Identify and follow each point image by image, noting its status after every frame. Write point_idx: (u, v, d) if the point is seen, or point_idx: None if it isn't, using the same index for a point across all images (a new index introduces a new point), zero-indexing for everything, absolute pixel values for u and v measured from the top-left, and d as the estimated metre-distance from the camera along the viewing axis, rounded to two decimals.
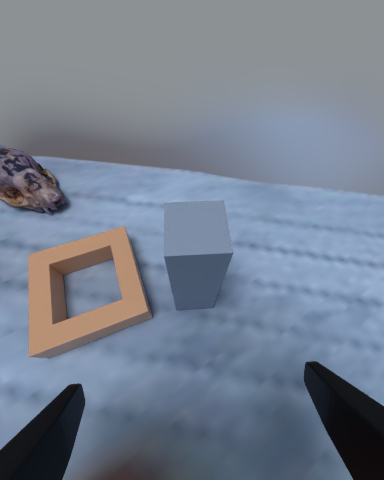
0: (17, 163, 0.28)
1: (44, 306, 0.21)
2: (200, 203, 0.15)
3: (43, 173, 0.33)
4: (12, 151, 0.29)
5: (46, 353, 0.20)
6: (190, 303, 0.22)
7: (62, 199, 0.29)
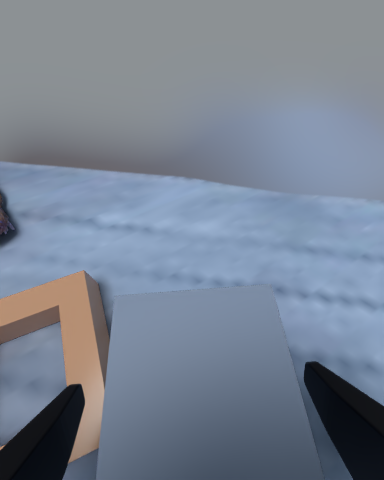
0: None
1: None
2: (210, 295, 0.05)
3: None
4: None
5: None
6: None
7: (3, 227, 0.20)
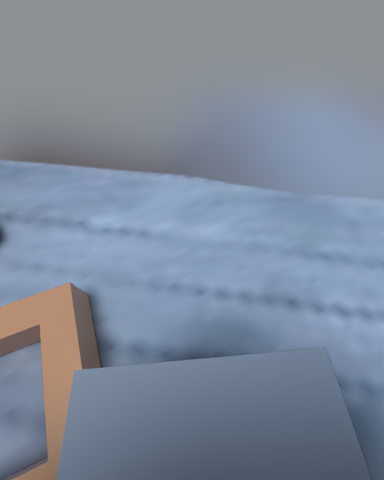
0: None
1: None
2: (230, 368, 0.03)
3: None
4: None
5: None
6: None
7: None
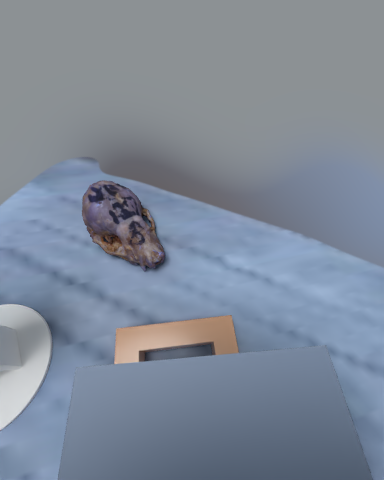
0: (125, 208, 0.24)
1: None
2: (230, 365, 0.03)
3: (142, 213, 0.28)
4: (121, 191, 0.24)
5: None
6: None
7: (163, 258, 0.24)
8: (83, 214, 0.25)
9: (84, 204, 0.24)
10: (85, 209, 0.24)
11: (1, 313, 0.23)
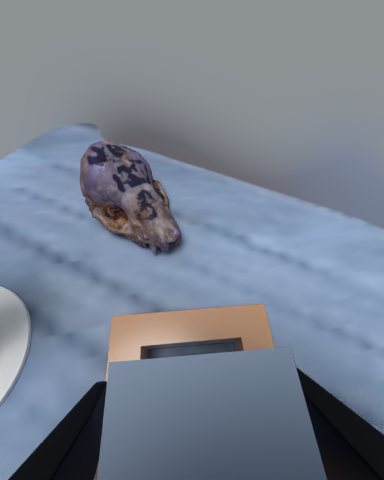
0: (133, 174, 0.19)
1: None
2: (220, 361, 0.05)
3: (153, 186, 0.23)
4: (129, 153, 0.19)
5: None
6: None
7: (179, 238, 0.19)
8: (80, 183, 0.20)
9: (82, 168, 0.19)
10: (83, 174, 0.19)
11: None
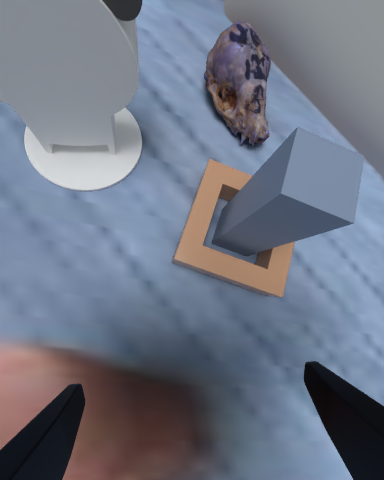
0: (260, 67, 0.22)
1: (203, 223, 0.20)
2: (337, 147, 0.11)
3: None
4: (263, 45, 0.22)
5: (181, 263, 0.20)
6: (232, 244, 0.21)
7: (265, 139, 0.25)
8: (210, 54, 0.24)
9: (221, 41, 0.22)
10: (221, 47, 0.22)
11: None
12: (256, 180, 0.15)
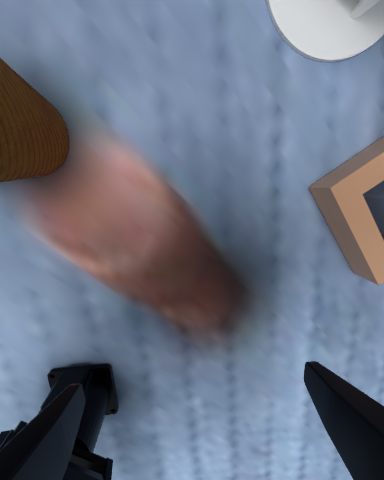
0: None
1: (382, 173, 0.17)
2: None
3: None
4: None
5: (326, 196, 0.18)
6: (382, 212, 0.19)
7: None
8: None
9: None
10: None
11: None
12: None
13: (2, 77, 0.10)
